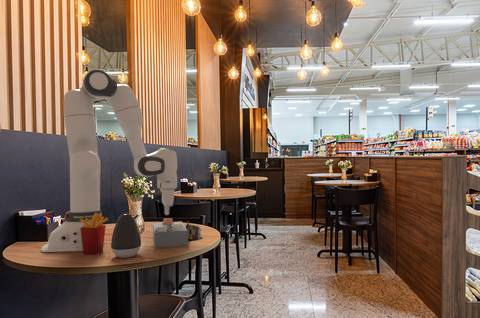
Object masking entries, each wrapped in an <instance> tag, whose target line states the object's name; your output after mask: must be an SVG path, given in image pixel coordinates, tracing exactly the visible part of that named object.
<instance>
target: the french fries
mask: <svg viewBox="0 0 480 318" xmlns="http://www.w3.org/2000/svg"><path fill="white" fill-rule="evenodd" d="M96 220H97V222H96ZM108 220H109V218H108V217H104V216H103V215H102V214H101V215H99V214H97V213H95V214H94V215H93V217H92V220H90V219H89V220H88V219H87V218H85V221H84V220H83V219H80V221H81V222H82V223H83V224H84V227H82V228H80V230H81V238H82V246H83V251H82V253H83V255H88V256H89V255H91V256H92V255H93V256H95V255H99V254H100V253H102V252H104V245H105V234H106V227H107V226H106V225H107V224H104V223H105V222H107V221H108ZM87 221H89V222H90V223H91V225H89V224H88V223H87ZM95 223H96V224H95Z"/></svg>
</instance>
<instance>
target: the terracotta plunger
mask: <svg viewBox="0 0 480 318" xmlns="http://www.w3.org/2000/svg"><path fill="white" fill-rule="evenodd" d="M173 222H174V221H173V218H172V217H171V218H169V217H167V218H163V223H164V225H170V224H173Z"/></svg>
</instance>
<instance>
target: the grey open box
mask: <svg viewBox="0 0 480 318" xmlns="http://www.w3.org/2000/svg"><path fill="white" fill-rule="evenodd" d="M173 223H181V227H180V228H172V224H170V225H164V222H153V223H152V237H153V244H154V249H161V248H174V247H186V246H189V240H188V230H187V229H186V225H185V224H184V223H183V222H182V221H173ZM157 227H167V232H157Z"/></svg>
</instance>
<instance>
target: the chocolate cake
mask: <svg viewBox="0 0 480 318" xmlns="http://www.w3.org/2000/svg"><path fill="white" fill-rule="evenodd" d="M185 227H186V229H187V230H188V241H189V240H192V241H199V240H200V239H202V236H201V235H202V233H201V231H202V228H201V227H200V226H197V225H193V224H190V223H189V221H187V223H186V225H185Z"/></svg>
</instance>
